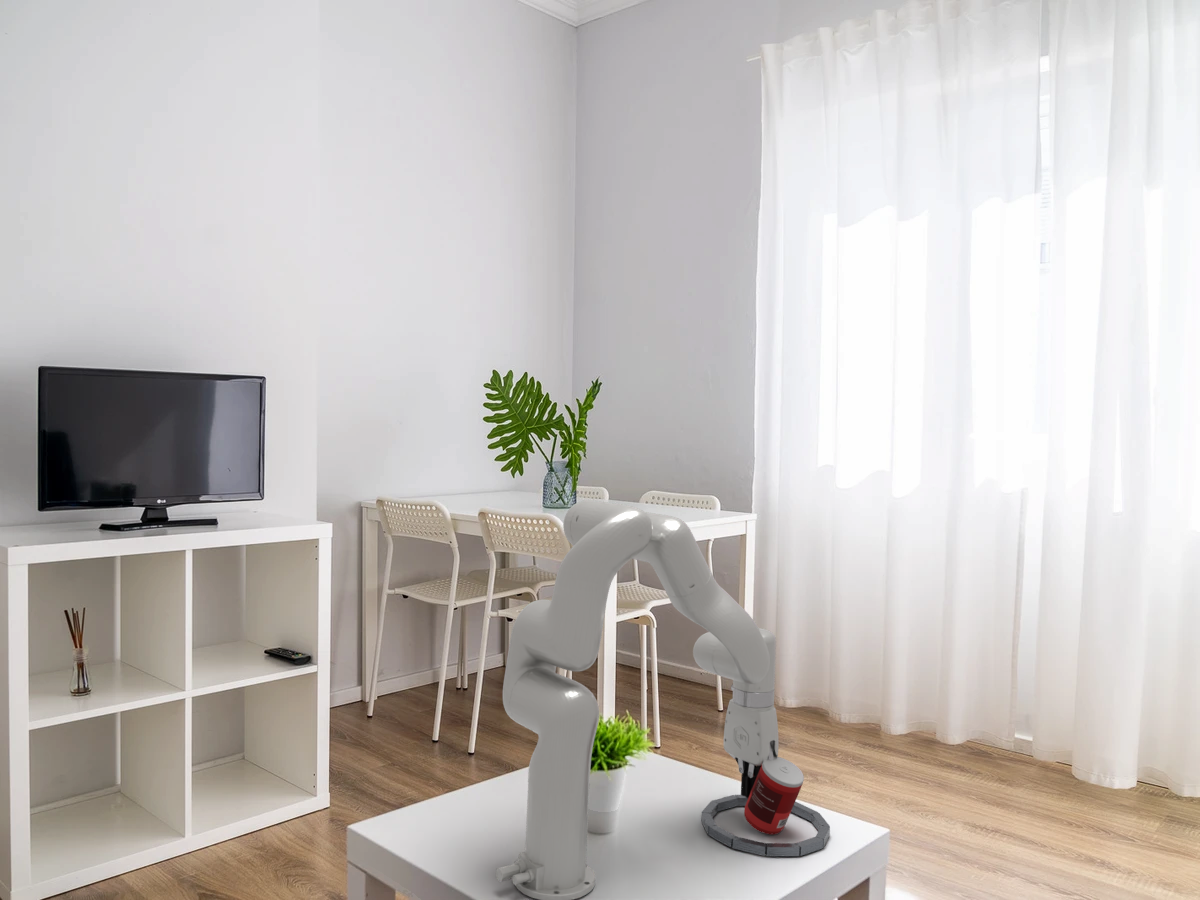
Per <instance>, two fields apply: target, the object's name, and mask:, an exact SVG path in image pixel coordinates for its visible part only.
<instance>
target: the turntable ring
mask: <svg viewBox="0 0 1200 900" xmlns="http://www.w3.org/2000/svg"><path fill="white" fill-rule="evenodd" d="M747 800H748V798H746V797H745V796H742V795H741V794H733V795H727V796H724V797H719V798H717V799H713V800H710V802H709V803H708V804H707V805H706V806H705V808H703V810H702V811H701V815H700V816H701V818H700V821H701V823H702V825H703V827H704V830H705V832H706V833H707V835H708V836H709V837H711V838H713V839H715V840H716V841H718V842H720V843H722V844H724V845H726V846H727V847H729V848H732V849H734V850H738V851H742V852H746V853H750V854H755V855H760V856H765V857H801V856H804V855H808V854H810V853H813V852H816V851H819V850H821V849H823V848H825V846H826V843H827V841H828V840H829V837H830V832H831V826H830V824H829V823H828V822H827V820H825V818H824V817H823V816H822V814H821V813H819V812H818V811H817V810H814V809H812V808H811V807H808V806H806V805H804V804H801V803H800V802H797V801H795V803H794V806H793V808H792V810H791V813H793V814H795V815H796V816H799V817H801V818H803V819H805V820H807V821H809V822H811V823H812V824H813V826H814V827H815V828H816V830H817V833H816V834H815V836H813V837H809V838H807V839H804V840H801V841H798V842H789V843H788V842H784V843H783V842H775V843H774V842H771V843H769V842H768V843H767V842H762V841H759V840H753V839H751V838H750V839H748V838H745V837H740V836H736V835H735V834H733V833H732V832H729V831H727V830H726V829H723V827H720V826H718V825H717V824H716V822H715V819H714V817H715V815H717V813H718V812H721V811H723V810H727V809H730V808H735V807H738V806H739V807H741V806H742V807H743V806H744V807H745V805H746V803H747Z"/></svg>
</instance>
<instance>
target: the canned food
mask: <svg viewBox="0 0 1200 900" xmlns="http://www.w3.org/2000/svg"><path fill="white" fill-rule="evenodd" d="M773 757H774V760H769V759H768V758H767V760H764V761H763V763H762V765H761V767H760V770H759V772H758V775H757V777H756V780H755V782H754V785H753V788H752V790H751V793H750V795H749V798H748V800H747V803H746V805H745V806H744V807H743V808H744V809H743V811H744V812H743V813H744V814H743V816H744V818H745V820H746V822H747V823H748V824H749V825H750V826H751V827H752V828H753V829H755V830H756V831H758V832H760V833H763V834H766V835H774V836H775V835H778V834H780V833H781V832H782V831H783V830H784V828H785V826H786V824H787V823H788V819H789V817H790V815H791V813H792V812H791V810H792V808H793V806H794V803H795V802H797V801H796V800H797V798H798V795H800V794H799V793H800V791H801V788H802V786H803V783H804V780H805V776H804V774H803V771H802V770H801V769H800V768H799V767H798V766H797V765H796V764H795V763H793V762H791V761H790V760H788V759H786V758H783V757H780V756H778V757H777V758H776V757H775V756H773Z"/></svg>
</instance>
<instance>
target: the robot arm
mask: <svg viewBox="0 0 1200 900" xmlns="http://www.w3.org/2000/svg"><path fill="white" fill-rule="evenodd" d="M562 526H563V527H562V529H563V532H564V535H565V538H566V540H567V541H568V543H570V544H571V545H572V547H571V548H570V549H569V550H568V552H567V553H566V554H565V556H564V558H563V559H562V561H561V563H560V565H559V567H558V569H557V573H556V577H555V581H554V587H553V590H552V595H551V599H538V600H534V601H532V602H530V603H528V604H527V605H526V606H525V607H523V609H521V611H520V612H519V613H518V615H517V617H516V618H515V620H514V623H513V626H512V629H511V633H510V639H509V646H508V652H507V658H506V664H505V672H504V678H503V686H502V704H503V708H504V711H505V713H506V714H507V716H508V717H509V718H510V719H511V720H513V721H514V722H515V723H516V724H519V725H521V726H522V727H523V728H526V729H527V730H530V731H531V732H533V733H534V734H537V735H538V739H537V743H536V746H535V748H534V750H533V753H532V754H531V757H530V760H529V765H528V771H527V772H528V777H527V800H526V801H527V804H526V805H527V806H526V821H525V823H526V824H525V845H524V846H525V847H524V848H525V849H524V850H525V851H522V852H519V853H518V860H516V861H514V862H513V864H511V865H509V864H508V865H504V866H501V867H498V868H496V870H495V875H496V879H497V880H498V882H500V883H501V882H504V881H508V880H510V879H511V881H512V884H513V885H514V886H515V888H517V889H518V891H519V892H521V893H522V894H523V895H525V896H527V897H529V898H532V899H535V900H575V899H577V900H578V899H580V898H582V897H585V895H587V894H589V893H590V892H591V891H592V890H593V889H594V888H595V885H596V874H595V871H594V870H593V868H591V867H590V865H588V864H587V850H588V849H587V846H588V830H589V829H588V825H589V824H588V823H589V807H590V804H589V803H590V785H591V784H590V779H591V765H592V754H593V748H594V747H593V746H594V743H595V738H596V734H597V730H598V726H599V719H600V708H599V706H600V705H599V703H598V700H597V699H596V696H595V695H594V693H593V692H592V691H591V690H590V689H589V688H588V687H587V686H585V685H584V684H582V683H581V682H578V681H576V680H575V679H571V678H570V677H567V676H565V675H562V674H559V673H557V672H556V671H557V668H559V669H561V670H562V669H563V670H566V671H571V672H584V671H586V670H588V669H590V668H591V667H592V666H593V664H594V663H595V662H596V659H597V658H598V655H599V652H600V647H601V640H602V633H603V629H604V621H605V614H606V609H607V601H608V596H609V592H610V587H611V584H612V582H613V580H614V578H615V577H616V575H617V573H618V572H619V571H620V570H621V569H622V568H623V566H625V565H626V564H627V563H628V562H629V561H631V560H635V561H640V562H643V563H644V562H645V563H649V565H650V566H651V567H652V569H653V570H654V572H655V574H656V576H657V577H658V579H659V581H660V584H661V585H662V587H663V589H664V591H665V593H666V595H667V597H668V599H669V601H670V603H671V605H672V606H673V608H675V610H676V611H678V612H679V613H680V614H681V615H683V616H684V617H686V618H687V619H688V620H690V621H691V622H693V623H694V624H696V625H699V626H700V627H701V628H703V629H705V630H706V631H707V632H706V633H703V634H701V635H700V636H699V637H698V638H697V639H696V641H695V642H694V645H693V648H692V656H693V659H694V661H695V663H696V665H697V666H698V667H700V669H702V670H704V671H706V672H708V673H711V674H713V675H716V676H719V677H722V678H727V679H730V680H732V684H731V687H730V690H731V691H732V698H731V699H729V702H728V705H727V709H726V714H725V719H724V728H723V729H724V730H723V743H722V744H723V749H724V751H725V752H726V753H727V754H728V755H729V757H731V758H733V759H734V760H735V762H736V763H737V765H738V772H739V773H740V774H741V781H740V783H741V784H740V795H742V796H745V797H746V798H749V795H750V793H751V790H752V788H753V785H754V782H755V780H756V777H757V775H758V772H759V770H760V767H761V765H762V763H763V761H764V760H767V758H768V759H769V760H774V757H773V756H775V757H776V758H777V757H779V739H780V738H779V725H778V716H777V715H778V714H777V709H776V707H775V682H776V680H775V679H776V658H777V657H776V655H777V654H776V653H777V651H776V650H777V639H776V635H775V633H774V632H772V631H771V630H769V629H766V628H760V627H759V626H758V624H757V623H756V622H755V620H754V618H753V617H752V616H751V615H750V614H749V612H747V611H746V609H744V607H742V605H740V604H739V603H738V602H737V601H736V599H734V598H733V596H731V594H729V593H728V592H727V591H726V590H725V589H724V588H723V587H722V586H720V585H719V583H718V582H717V581H716V579H715V577H714V575H713V573H712V570H711V568H710V566H709V565H708V563H707V561H706V558H705V556H704V554H703V552H702V551H701V548H700V546H699V544H698V542H697V541H696V540H697V539H695V536H694V534H693V532H692V531H691V529H690V526H689V525H688V524H686V522H684V521H683V520H682V519H680V518H678V517H676V516H672V515H666V514H660V513H653V512H647V511H644V510H642V509H640V508H638V507H635V506H632V505H627V504H623V503H621V504H620V503H615V502H605V501H598V500H594V499H593V500H591V499H586V500H580V501H578V502H576V503H575V504H573V505H572V506H571V507H570V508H569V509H568V510H567V511H566V513H565V515H564V519H563V525H562Z"/></svg>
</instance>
